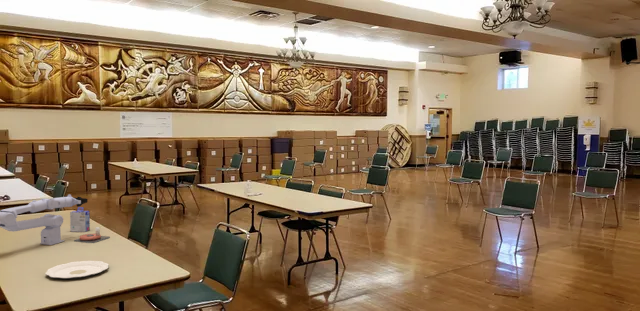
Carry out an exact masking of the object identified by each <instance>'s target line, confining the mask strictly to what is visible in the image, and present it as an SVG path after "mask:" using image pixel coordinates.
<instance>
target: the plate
mask: <svg viewBox="0 0 640 311" xmlns="http://www.w3.org/2000/svg"><path fill="white" fill-rule="evenodd" d="M109 266H110V264H109V263H107V262H104V261H101V260H82V261H81V260H80V261H70V262H67V263H62V264H58V265H55V266H52V267H50V268H48V269H46V272H45V273H44V274H45V276H47V277H49V278H51V279H60V280H77V279H85V278H88V277H89V278H90V277H92V276H95V275H98V274H100V273H102V272H104V271H107V270H108V269H109ZM75 271H85V272H82V273H77V274H73V273H72V272H75Z"/></svg>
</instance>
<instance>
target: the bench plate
mask: <svg viewBox="0 0 640 311" xmlns="http://www.w3.org/2000/svg"><path fill="white" fill-rule="evenodd" d="M110 238H111V237H110V236H107V235H101V238H98V239H94V240H80V239H79V238H76V239H74V240H73V241H74V242H78V243H88V244H95V243H98V242H100V241H102V242H103V241H105V240H107V239H110Z"/></svg>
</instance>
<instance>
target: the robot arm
mask: <svg viewBox="0 0 640 311" xmlns="http://www.w3.org/2000/svg"><path fill="white" fill-rule="evenodd" d="M86 203H88V198H87V197H86V198H85V197H81V196H77V197H73V196H72V194H67V195H64V196H61V197H52V198H44V197H42V198H41V199H40V200H39V199H38V200H36V199H33V200H32V201H30V202H29V203H28V204H26V205H19V206H14V207H9V208H5V209H1V210H0V228H2V229H3V230H6V231H7V232H14V233H15V232H18V231H26V230H30V229H36V228H41V227H44V228H43V229H41V231H40V243H39V244H40V245H45V246H46V245H48V246H52V245H56V244H59V243H63V242H65V241H66V240H64V239H61V238H62V235H61V234H62V233H61V227H62V225H63V223H64V217H63V216H62V215H61V214H57V215H56V214H50V213H45V215H42V216H39V217H36V218H30V219H25V220H24V219H23V220H17V218H18V215H21V214H24V213H27V212H30V213H37V212H42V211H44V210H54V209H59V208H60V209H61V208H71V207H73V206H76V207H77V208H78V207H81V206H83V205H84V204H86Z"/></svg>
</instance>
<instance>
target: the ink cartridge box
mask: <svg viewBox="0 0 640 311" xmlns="http://www.w3.org/2000/svg"><path fill="white" fill-rule="evenodd" d="M90 221H91V219H90V211H89V210H84V207H83V206H82V207H81V206H79V207H77V210H73V211H70V212H69V222H70V223H69V226H70V229H69V230H70V232H76V233H77V232H78V233H79V232H81V233H82V232H85V233H86V232H89V231H90V230H91V227H90V226H91V225H90V224H91V222H90ZM88 230H89V231H88Z"/></svg>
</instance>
